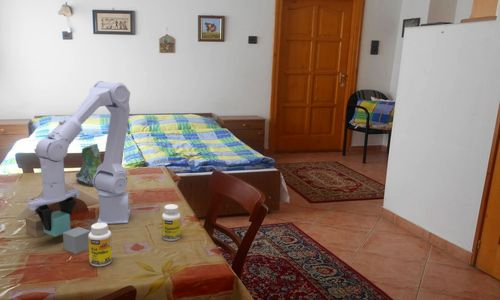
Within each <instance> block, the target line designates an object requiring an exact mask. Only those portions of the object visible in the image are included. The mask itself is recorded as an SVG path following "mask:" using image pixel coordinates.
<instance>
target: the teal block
mask: <svg viewBox="0 0 500 300" xmlns="http://www.w3.org/2000/svg"><path fill="white" fill-rule="evenodd" d="M71 229H72V228H71V216H70V214H67V213H64V212H62V211H61V210H56V211H52V214H51V231H47V230H45V228H44V232H45V233H47V234H48V235H50V236H53V237H54V238H55V237H58V236H60V235H63V232H66V231H68V230H71ZM47 234H46V235H47Z"/></svg>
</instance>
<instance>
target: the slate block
mask: <svg viewBox="0 0 500 300" xmlns="http://www.w3.org/2000/svg"><path fill="white" fill-rule="evenodd" d="M90 232H91V230H89V229H86V228H83V227H80V226H77V227H74V228H71V230H68V231H66V232H63V234H62V240H63V250H65V251H67V252H69V251H70V253H72V254H74V255H77V254H80V253H81V252H83V251H86V250H89V240H88V235H89V233H90Z"/></svg>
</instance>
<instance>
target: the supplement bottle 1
mask: <svg viewBox="0 0 500 300" xmlns="http://www.w3.org/2000/svg"><path fill="white" fill-rule="evenodd" d="M88 240H89V249H88V256H89V257H88V259H89V264H90V265H92V266H94V267H104V266H107V265H109V264H110V263H112V262H113V246H112V245H113V244H112V240H113V239H112V232H111V230H109V224H106V223H97V222H95V223H93V224H92V225H91V227H90V233H89V235H88Z"/></svg>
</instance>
